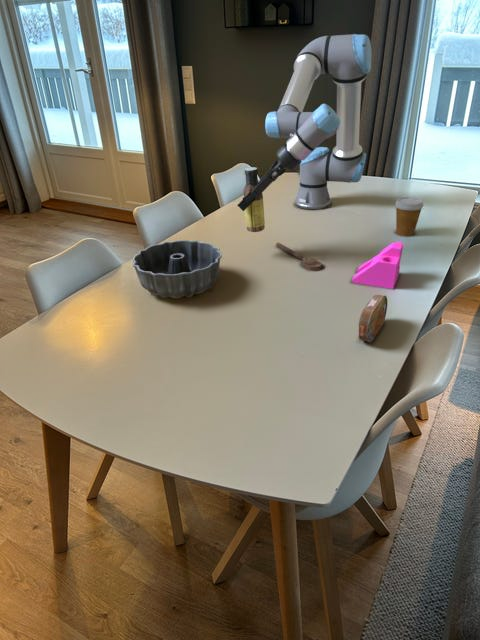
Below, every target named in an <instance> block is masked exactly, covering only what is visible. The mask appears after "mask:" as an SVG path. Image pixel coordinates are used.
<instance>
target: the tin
mask: <svg viewBox="0 0 480 640" xmlns="http://www.w3.org/2000/svg"><path fill="white" fill-rule="evenodd" d="M387 310H388V297H387V296H386V295H381V294H374V295H373V296H372V297H371V299H369V301H368V303H367V304H366V305H365V306H364V308H363V309H362V312H361V314H360V316H359V319H358V320H359V321H358V339H359V340H361V341H363V342H364V341H365V342H368V343H372V342H373V341H374V339H375V337H376V336H377V334H378V333H379V332H380V330H381V329H382V327H383V325H384V322H385V320H386V316H387V312H388V311H387Z"/></svg>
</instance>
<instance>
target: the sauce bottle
mask: <svg viewBox="0 0 480 640" xmlns="http://www.w3.org/2000/svg"><path fill="white" fill-rule="evenodd" d="M258 169H259V168H258V167H254V166H250V167H246V168H244V175H245V186H244V187H243V192H242V195H243V197H244V198H245V197H246V196H247V195H248V194H249V192H250V191H249V190H250V189H251V190H253V189H254V188H255V187H256V186H257V185H258V182H259V180H258V178H259V176H258V173H259V170H258ZM264 208H265V206H264V194H263V192H262V193H261V194H260V195H259V197H258V198H256V199H255V200H254V201H253V202H252V203H251V204H250V205H249V206H248V207H247V208H246V209H245V210H244V219H245V221H244V222H245V227H246V230H247V232H252V233H259V232H262V231H264V230H265V224H266V221H265V210H264Z"/></svg>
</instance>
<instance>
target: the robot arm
mask: <svg viewBox="0 0 480 640" xmlns="http://www.w3.org/2000/svg"><path fill="white" fill-rule="evenodd" d="M372 58H373V57H372V44H371V39H370V37H369V36H368V35H367V34H356V33H353V34H339V35H323V36H320V37H318V38H315V39H313V40H312V41H310V42H309V43H308V44H306V46H305V47H303V48H302V50H301V51H300V52H299V53H298V55H296V59H295V61H294V63H293V73H292V76H291V78H290V81H289V82H288V85H287V88H286V90H285V93H284V95H283V97H282V100H281V102H280V104H279V107H278V109H277V111H275V110H274V111H269V112H268V113H267V114H266V117H265V123H264V127H265V133H266V135H267V137H268V138H276V139H288V140H287V141H286V143H284V144H282V145H281V146H280V148H279V149H277V151H276V157H277V159H278V160H275V161H274V162H273V164H272V165H271V166H270V168H268V171H266V173H265V174H264V175H263V176H262V177H261V178H259V180H258V185H257V186H256V187H255V188H254V189H253V190H251V189H250V190H249V191H250V192H249V194H248V195H247V196H246V197H245V198H244V196H243V197H242V200H241V201H240V202H238V204H237V207H238V208H239V210H241V211H242V212H245V209H246V208H247V207H248V206H249V205H250V204H251V203H252V202H253V201H254V200H255V199H256V198H258V197H259V195H260V194H261V193H262V194H263V192H264V191H266V190H267V189H268V187H269V186H270V185H271V184H272V183H273V182H276V181H277V179H278V178H279V177H281V176H282V175H283V174H284V173H285V171H286V169H287V170H289V171H295V170H296V169H297V170H296V171H297V173H298V174H299V187H298V190H297V193H296V196H295V199H294V206H295V207H297V208H299V209H303V210H323V209H325V208H329V207H330V206H331V197H330V193H329V190H328V182H332V183H333V182H337V183H348V184H350V183H359V182H360V181H361V180H362V177H363V173H364V169H365V164H366V159H367V153H366V152H363V147H362V145H361V144H360V125H361V124H360V123H361V100H362V82H364V81H365V80H366V78H367V74H369V73H370V72H371V69H372ZM320 75H332V82H333V83H334V84H336V111H335V110H334V109H333V108H332V107H331V106H330V105H328V104H327V103H322V104H320V106H318V107H317V108H316V109H315V110H314V111H304V108H305V106H306V103H307V101H308V98H309V95H310V93H311V90H312V88H313V85H314V83H315V80H317V79H318V78H319V76H320ZM335 134H336V145H335V146H334V147H333V148H332V151H330V149H329V148H328V147H326V146H319V145H321V144H322V143H323V142H324V141H325V140H327V139H331V138H332V137H334V136H335Z"/></svg>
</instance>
